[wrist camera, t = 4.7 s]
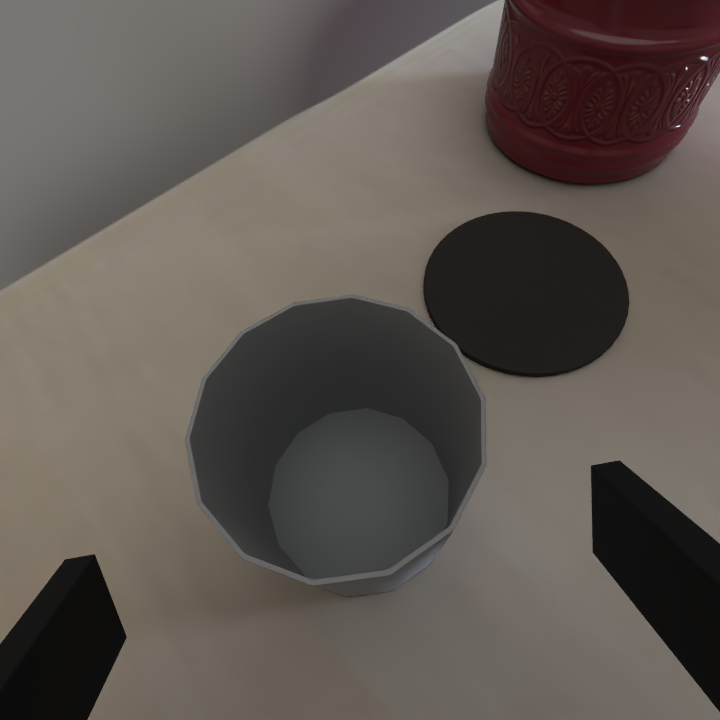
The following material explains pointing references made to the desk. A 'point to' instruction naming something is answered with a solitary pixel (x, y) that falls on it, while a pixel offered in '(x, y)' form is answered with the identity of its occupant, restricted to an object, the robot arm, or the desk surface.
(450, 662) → the desk surface
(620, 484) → the robot arm
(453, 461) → the cup
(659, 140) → the kitchen canister
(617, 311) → the coaster
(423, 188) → the desk surface
